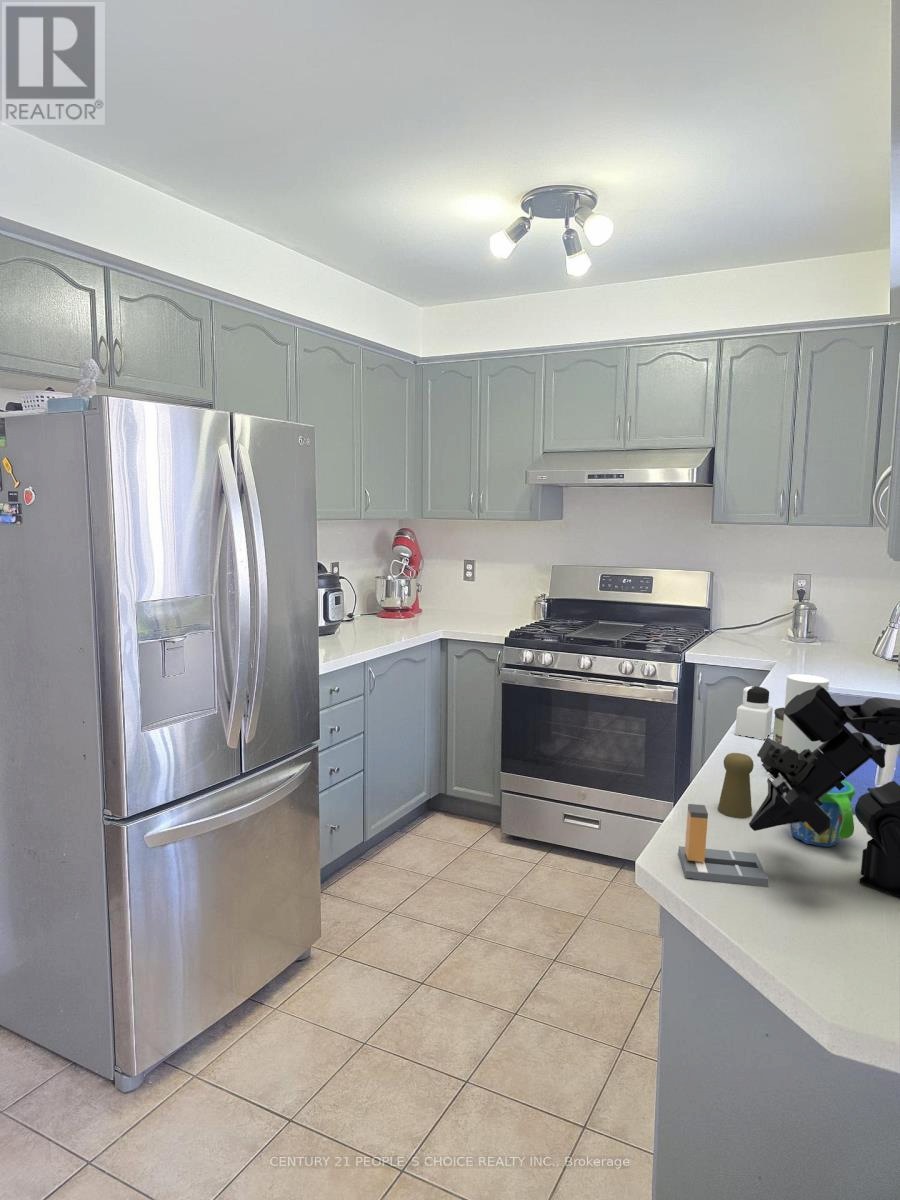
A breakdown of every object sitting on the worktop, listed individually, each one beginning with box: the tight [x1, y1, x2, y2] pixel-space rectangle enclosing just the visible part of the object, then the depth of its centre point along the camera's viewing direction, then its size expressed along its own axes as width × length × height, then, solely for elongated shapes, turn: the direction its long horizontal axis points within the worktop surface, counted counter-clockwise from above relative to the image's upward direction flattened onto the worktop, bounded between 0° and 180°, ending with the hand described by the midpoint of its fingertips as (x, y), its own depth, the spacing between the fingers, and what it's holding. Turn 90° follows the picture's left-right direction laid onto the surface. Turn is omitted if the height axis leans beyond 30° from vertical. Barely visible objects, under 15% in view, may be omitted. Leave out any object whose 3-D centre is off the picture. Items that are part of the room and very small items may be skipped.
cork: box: [717, 752, 755, 819], centre depth 149 cm, size 6×6×11 cm
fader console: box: [677, 845, 770, 887], centre depth 125 cm, size 12×9×1 cm
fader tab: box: [684, 803, 709, 862], centre depth 126 cm, size 2×4×9 cm
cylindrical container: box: [782, 673, 830, 753], centre depth 151 cm, size 7×7×25 cm
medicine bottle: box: [734, 685, 773, 740], centre depth 200 cm, size 7×7×12 cm
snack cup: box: [790, 779, 856, 847], centre depth 138 cm, size 16×10×10 cm
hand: (751, 827), depth 124 cm, fingers closed
